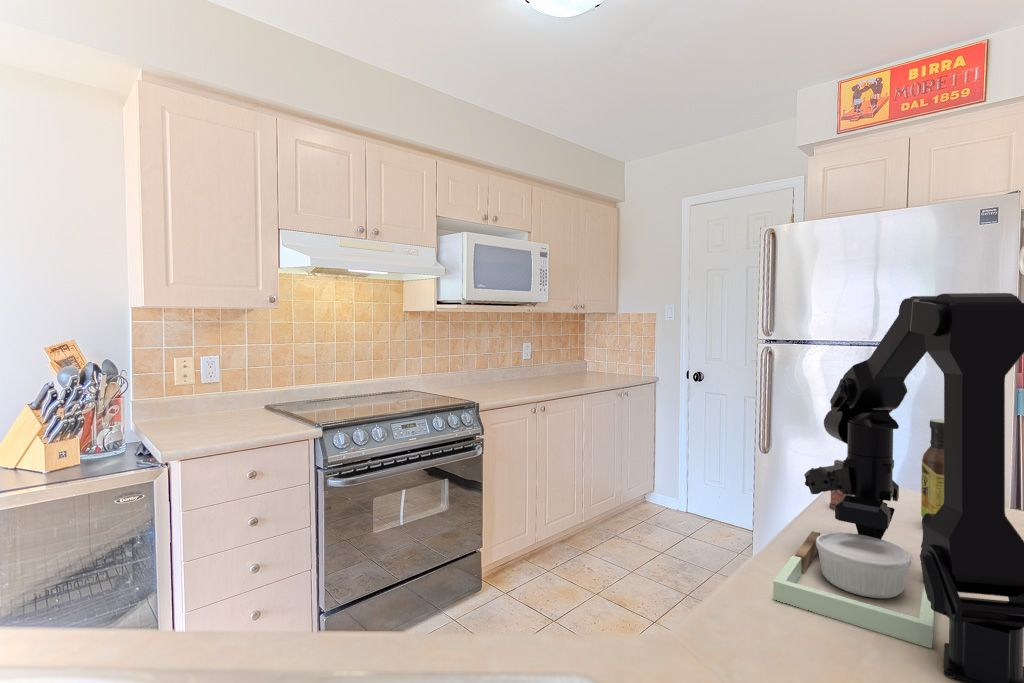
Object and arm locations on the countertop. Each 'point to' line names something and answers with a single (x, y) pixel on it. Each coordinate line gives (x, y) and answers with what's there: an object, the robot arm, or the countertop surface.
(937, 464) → the sauce bottle
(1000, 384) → the robot arm
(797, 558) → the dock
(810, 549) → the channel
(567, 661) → the countertop surface
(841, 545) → the ramekin
